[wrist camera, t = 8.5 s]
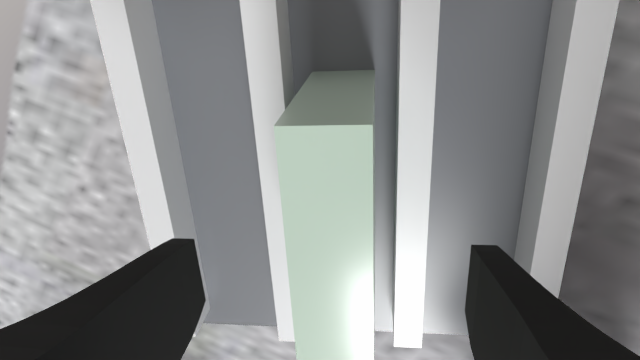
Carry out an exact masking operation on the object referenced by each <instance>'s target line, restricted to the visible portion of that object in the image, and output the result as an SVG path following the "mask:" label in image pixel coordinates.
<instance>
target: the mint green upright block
mask: <svg viewBox="0 0 640 360" xmlns="http://www.w3.org/2000/svg"><path fill="white" fill-rule="evenodd" d="M274 135H275V145H276V155H277V165H278V175H279V186H280V196H281V206H282V216H283V226H284V237H285V247H286V257H287V267H288V277H289V288H290V298H291V308H292V318H293V328H294V339H295V349H296V359H297V360H374V318H375V70H351V71H318V72H312V73H311V74H310V76H309V77H308V79H307V80H306V81H305V83H304V84H303V86H302V87H301V88H300V90H299V91H298V93H297V94H296V95H295V97H294V98H293V100H292V101H291V102H290V104H289V105H288V107H287V108H286V110H285V111H284V112H283V114H282V115H281V117H280V118H279V119H278V121H277V122H276V124H275V125H274Z"/></svg>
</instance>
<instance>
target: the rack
mask: <svg viewBox="0 0 640 360" xmlns="http://www.w3.org/2000/svg"><path fill="white" fill-rule="evenodd" d="M90 2H91V6H92V11H93V15H94V19H95V23H96V27H97V31H98V35H99V39H100V43H101V48H102V52H103V56H104V60H105V64H106V68H107V72H108V76H109V81H110V85H111V89H112V93H113V97H114V101H115V105H116V109H117V113H118V118H119V122H120V126H121V130H122V134H123V138H124V142H125V146H126V151H127V155H128V159H129V163H130V167H131V171H132V175H133V179H134V183H135V188H136V192H137V196H138V200H139V204H140V208H141V212H142V216H143V221H144V225H145V229H146V233H147V237H148V241H149V245H150V249H151V250H152V249H153V248H155V247H157V246H159V245H160V244H162V243H164V242H166V241H168V240H170V239H172V238H183V239H194V241H195V246H196V251H197V256H198V262H199V267H200V272H201V277H202V283H203V288H204V293H205V298H206V301H205V304H204V307H203V310H202V313H201V316H200V319H199V322H198V324H197V327H196V330H195V332H194V334H193V336H192V337H196V335H197V333H198V331H199V329H200V327H201V325H202V323H213V324H235V325H257V326H277V328H278V337H279V341H292V342H295V339H294V328H293V318H292V308H291V298H290V288H289V277H288V267H287V257H286V247H285V237H284V226H283V216H282V206H281V196H280V186H279V175H278V165H277V155H276V145H275V135H274V125H275V124H276V122H277V121H278V119H279V118H280V117H281V115H282V114H283V112H284V111H285V110H286V108H287V107H288V105H289V104H290V102H291V101H292V100H293V98H294V97H295V95H296V94H297V93H298V91H299V90H300V88H301V87H302V86H303V84H304V83H305V81H306V80H307V79H308V77H309V76H310V74H311V73H312V72H318V71H351V70H375V318H374V331H388V332H393V336H394V347H412V348H422V333H432V334H454V335H469V334H468V328H467V322H466V316H465V302H466V292H467V283H468V273H469V263H470V253H471V245H498V246H499V247H500V248H501V249H502V250H503V251H504V252H506V253H507V254H508V255H509V256H510V257H511V258H512V259H513V260H514V261H515V262H516V263H517V264H519V265H520V266H521V267H522V268H523V269H524V270H525V271H526V272H527V273H529V274H530V275H531V276H532V277H533V278H534V279H535V280H536V281H538V282H539V283H540V284H541V285H542V286H543V287H545V288H546V289H547V290H548V291H549V292H550V293H552V294H553V295H554V296H555V297H556V298H558V297H559V292H560V287H561V282H562V277H563V272H564V268H565V263H566V258H567V253H568V248H569V243H570V238H571V233H572V229H573V224H574V219H575V214H576V209H577V204H578V199H579V195H580V190H581V185H582V180H583V175H584V170H585V165H586V161H587V156H588V151H589V146H590V141H591V136H592V131H593V127H594V122H595V117H596V112H597V107H598V102H599V97H600V93H601V88H602V83H603V78H604V73H605V68H606V63H607V59H608V54H609V49H610V44H611V39H612V34H613V29H614V25H615V20H616V15H617V10H618V5H619V0H90Z"/></svg>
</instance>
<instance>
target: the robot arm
mask: <svg viewBox="0 0 640 360" xmlns="http://www.w3.org/2000/svg"><path fill="white" fill-rule="evenodd" d="M205 301H206V298H205V293H204V288H203V283H202V277H201V272H200V267H199V262H198V256H197V251H196V246H195V241H194V239H183V238H172V239H170V240H168V241H166V242H164V243H162V244H160V245H159V246H157V247H155V248H153V249H152V250H150V251H148V252H147V253H145V254H143V255H142V256H140V257H138V258H137V259H135V260H133V261H132V262H130V263H128V264H127V265H125V266H123V267H122V268H120V269H118V270H117V271H115V272H113V273H112V274H110V275H108V276H107V277H105V278H103V279H101V280H100V281H98V282H96V283H94V284H92V285H91V286H89V287H87V288H85V289H83V290H82V291H80V292H78V293H76V294H74V295H73V296H71V297H69V298H67V299H65V300H63V301H61V302H59V303H57V304H55V305H53V306H51V307H49V308H47V309H45V310H43V311H41V312H39V313H37V314H34V315H32V316H30V317H28V318H26V319H24V320H21V321H19V322H17V323H14V324H12V325H9V326H7V327H4V328H2V329H0V360H181V358H182V356H183V354H184V352H185V350H186V348H187V346H188V344H189V342H190V340H191V338H192V336H193V334H194V332H195V330H196V327H197V324H198V322H199V319H200V316H201V313H202V310H203V307H204V304H205ZM465 316H466V322H467V328H468V334H469V339H470V345H471V349H472V353H473V356H474V360H640V356H638V355H636V354H635V353H633V352H632V351H630V350H629V349H627V348H626V347H624V346H623V345H621V344H619V343H618V342H616V341H615V340H613V339H612V338H610V337H609V336H607V335H606V334H604V333H603V332H601V331H600V330H599V329H597V328H596V327H594V326H593V325H591V324H590V323H589V322H587V321H586V320H585V319H583V318H582V317H581V316H579V315H578V314H577V313H576V312H574V311H573V310H572V309H570V308H569V307H568V306H566V305H565V304H564V303H563V302H561V301H560V300H559V299H558V298H556V297H555V296H554V295H553V294H552V293H550V292H549V291H548V290H547V289H546V288H545V287H543V286H542V285H541V284H540V283H539V282H538V281H536V280H535V279H534V278H533V277H532V276H531V275H530V274H529V273H527V272H526V271H525V270H524V269H523V268H522V267H521V266H520V265H519V264H517V263H516V262H515V261H514V260H513V259H512V258H511V257H510V256H509V255H508V254H507V253H506V252H504V251H503V250H502V249H501V248H500V247H499V246H498V245H471V253H470V263H469V273H468V283H467V292H466V302H465Z"/></svg>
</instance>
